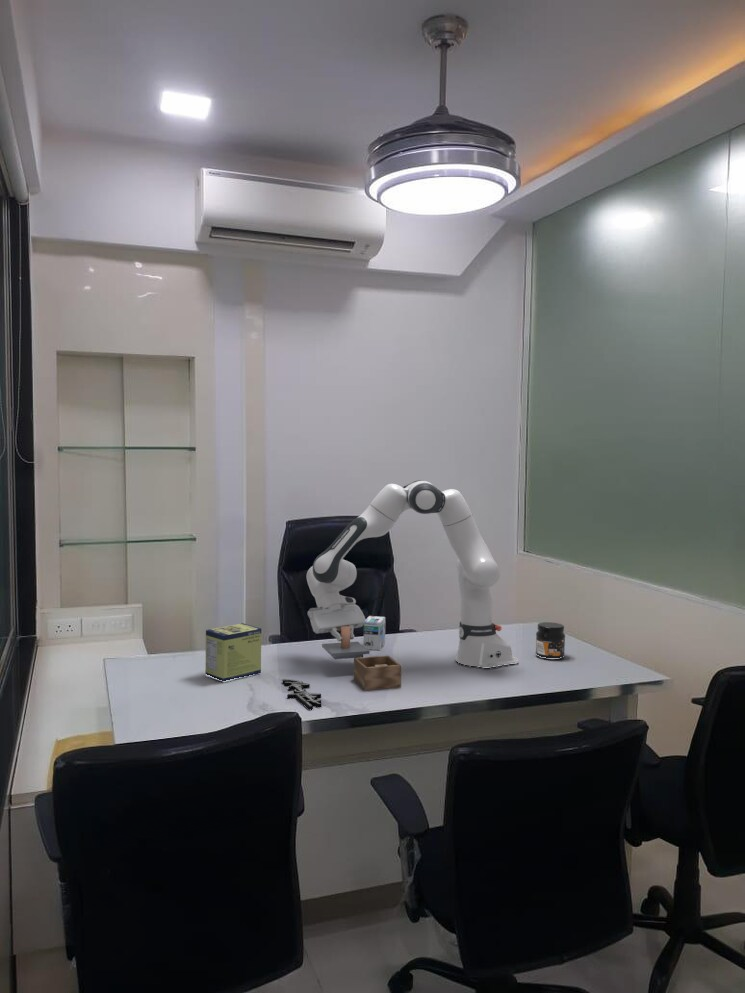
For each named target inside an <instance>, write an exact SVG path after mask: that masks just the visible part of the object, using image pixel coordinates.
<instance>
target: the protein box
mask: <svg viewBox="0 0 745 993" xmlns="http://www.w3.org/2000/svg"><path fill="white" fill-rule="evenodd" d="M204 671H205V674H207V675H210V676H212V677H214V678H217V679H219V680H222V681H226V680H230V679H234V678H239V677H244V676H249V675H253V674H258V673H261V674H262V628H261V627H257V626H254V625H250V624H247V623H243V622H242V623H237V624H231V625H226V626H221V627H215V628H209V629H206V630H205V670H204ZM258 675H259V674H258Z"/></svg>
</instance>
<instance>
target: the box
mask: <svg viewBox="0 0 745 993" xmlns="http://www.w3.org/2000/svg"><path fill="white" fill-rule="evenodd" d="M353 680H354V681H355V682H356V683H357V684H358V685H359V686H360V687H361V688H362V689H363V690H364V691H370V690H371V691H373V690H382V689H383V690H385V689H394V688H401V687H402V664H400V663H399V662H397V661H396V660H395V659H394V658H392V657H391V656H390V655H378V656H377V655H376V656H366V657H364V656H363V657H362V658H353Z"/></svg>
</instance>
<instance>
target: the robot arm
mask: <svg viewBox="0 0 745 993" xmlns="http://www.w3.org/2000/svg"><path fill="white" fill-rule="evenodd" d="M410 509H411V510H413V511H414V512H416V513H418V514H422V515H427V514H428V515H430V514H437V515H438V517H439V520H440V522H441V524H442V528H443V529H444V532H445V535H446V537H447V539H448V541H449V543H450V547H451V548H452V549H453V551H454V552H455V555H456V556H457V561H456V569H457V574H458V584H459V592H460V593H459V594H460V621H459V627H458V638H459V641H458V649H457V653H456V656H455V660H456V661H457V662H458V663H457V662H456V661H455V662H456V663H457V664H459V663H461V664H464V665H463V666H465V665H470V666H469V667H471V666H480V667H493V666H498V665H504V664H510V663H515V662H518V663H519V659H518V658H517V657H515V656H514V655H513V650H512V647H511V644H510V643H509V642H508V641H507V640H505V639H504V638H502V637H501V636H500V635H499V634H498V633H497V632H501V631H502V629H503V628H502V627H503V626H501V625H499V624H495V623H493V599H492V596H491V590H490V587H493V586H495V584H497V583H498V581H499V579H500V576H501V570H500V568H499V565H498V564H497V562H496V560H495V559H494V557H493V554H492V553H491V550H490V549H489V547H488V546H487V543H486V542H485V541H484V540H485V539H484V538H483V536H482V535H481V532H480V530H479V527H478V526H477V522H476V519H475V518H474V516H473V514H472V511H471V508H470V507H469V505H468V503H467V501H466V500H465V498H464V496H463V495H462V493H461V492H460V491H459V490H457V489H454V488H449V489H445V490H442V491H441V490H440V489H438V488H437V487H436V486H435V485H434V484H433V483H431V482H429V481H427V480H424V479H423V480H422V479H420V480H419V479H418V480H415V481H412V482H410V483H408V484H406V485H404V486H401V485H399V484H396V483H388V484H386V485H385V486H384V487H383V488H382V489H380V491H379V492H378V493H377V494H376V495H375V496H374V498H373V499H372V501H371V502H370V504H369V505H368V506H367V507H366V508H365V509H364V511H363V512H362V513H361V514H360V515H359V516H357V517H356V518H354V519H353V520H352V521H351V522H349V523H348V525H347V526H346V527H345V528H344V529H343V530H342V531H341V533H340V534H339V535H338V536H337V537H336V538H335V540H334V541H333V542H332V543H331V544H330V545H329V546H328V547H327V548H326V549H325V550H324V551H323V552H321V553H320V554H319V555H317V557H316V558H315V559H314V561H313V563H312V566H310V568H309V569H308V570H307V572H306V582H307V585H308V587H309V590H310V593H311V595H312V596H313V597H314V600H315V603H316V607H311V608H309V610H308V611H307V616H308V618H309V620H310V626H311V628H312V631H313V633H315V634H317V635H318V634H324V633H330V634H331V635H332V636H333V637H334V638H336V640H337V642H341V641H342V640H343V637H342V634H341V633H339V631H341V627H342V626H350V641H351V640H354V639H355V634H354V629H358V628H361V627H364V623H365V620H366V616H365V615H364V613H363V611H362V609H361V607H360V606H359V605H357V604H356V603H357V600H356V599H355V598H354V597H351V596H345V595H342V594H340V592H342V591H344V590H346V589H348V588H349V587H350V586H352V585H354V583H355V581H356V580H357V577H358V570H357V568H356V564H354V563H353V562H350V561H348V560H347V559H346V560H345V559H344V558H345V557H346V555H347V554H348V553H349V551H351V550H352V548H353V547H354V546H355V545H356V544H357V543H359V542H360V541H362V540H364V539H368V538H379V537H382V536H385V535H386V534H387V533H389V532H390V530H391V529H392V528H393V527H394V526H395V524H396V522H397V521H398V519H399V518H400V516H401V515H402V514H403V513H404V512H405V511H407V510H410ZM514 659H516V660H514ZM461 664H460V665H461Z"/></svg>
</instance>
